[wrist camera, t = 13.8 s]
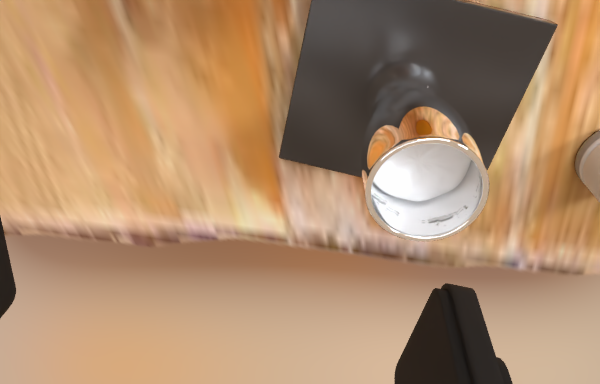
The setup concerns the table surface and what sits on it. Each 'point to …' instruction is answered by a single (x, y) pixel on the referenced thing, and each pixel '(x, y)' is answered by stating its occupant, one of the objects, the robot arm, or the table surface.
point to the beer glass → (419, 158)
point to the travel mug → (590, 164)
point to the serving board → (415, 49)
